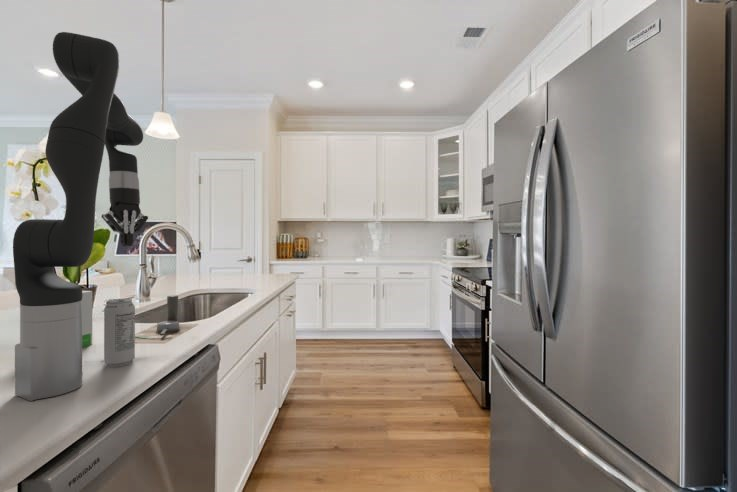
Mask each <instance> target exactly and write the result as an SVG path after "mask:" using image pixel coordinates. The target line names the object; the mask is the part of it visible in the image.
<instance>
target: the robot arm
mask: <svg viewBox="0 0 737 492" xmlns="http://www.w3.org/2000/svg"><path fill="white" fill-rule="evenodd" d="M52 54H53V58H54V62H55V64H56V66H57V68H58V70H59V71H60V72H61V73H62V75H63V77H65V79H66V80H68V81H69V82H70V84H71V85H72V86H73V87H74V88H75V89H76V90H77V91H78V93H80V95H81V96H80V97H79V98H78V99H76V100H75V101H74V102H72V103H71V104H70V105H69V106H68V107H66V108H64V110H62V111H61V112H60V113H58V115H57V116H55V118H54V119H52V122H51V124H50V127H49V130H48V135H47V141H46V145H45V152H44V153H45V157H46V160H47V163H48V165H49V167H50V169H51V171H52V173H53V174H54V175H55V177H56V180H57V181H58V183H59V184H60V186H61V187H62V189H63V192H64V196H65V212H64V213H65V214H64V217H63V219H47V218H45V219H43V218H42V219H41V218H39V219H38V218H37V219H35V218H34V219H33V218H32V219H27V220H24V221H23V222H21V223H19V225H18V226H17V228H15V232H14V235H13V238H12V258H13V267H14V268H13V269H14V284H15V285H14V286H15V290H16V291H17V294H18V296H19V343H17V344H15V345H14V395H15V396H18V397H20V398H23V399H26V400H27V401H29V402H30V401H31V402H32V401H36V400H39V399H46V398H51V397H57V396H60V395H64V394H66V393H70V392H73V391H74V390H77V389H78V388H80V387H81V386H82V385H83V375H84V374H83V347H82V291H83V288H82V286H81V285H79V284H76V283H74V282H70V281H68V280H65V279H63V278H62V277H60V276H59V275H58V274H57V273H56V271H55V269H54V268H75V267H82V266H83V265H84V264H86V263H88V260H89V259H90V257H91V254H92V252H93V245H94V239H95V237H94V236H95V224H96V223H95V217H96V200H97V192H98V185H99V179H100V173H101V167H102V163H103V157H104V150H106V151H107V156H108V163H109V164H108V168H109V176H108V188H109V191H108V192H109V203H110V207H109V209H108V210H109V211H107V212H106V213H104V214H101V219H103V221H104V222H105V223H106V224H107V225H108V226H109V228H110V229H111V230H112V232H116V233H118V234H119V235H120V238H119V239H120V245H122V248H123V247H132V245H134V233H136V232H137V233H138V232H140V230H142V228H143V226H144V225H145V224H146V222H147V221H148V219H149V216H147V215H144V214H143V213H142V210H141V208H140V204H141V200H140V199H141V197H140V196H141V195H140V193H141V192H140V180H139V176H138V175H139V174H138V158H137V156H136V155H135V154H134V153H130V152H127V151H123V150H119V149H118V147H117V146H128V147H129V146H131V147H136V146H139V145H140V144H141V143H143V140H144V133H143V130H142V127H141V125H140V124H139V123H138V122H137V120H136V119H134V118H133V117H132V116H131V115H130V114H129V113H128V111H127V107H126V105H125V104H124V102H123V100H122V99H121V98H120V97H119V96H118V94H116V93H115V90H116V86H117V82H118V79H119V73H120V62H121V61H120V54H119V51H118V49H117V47H116V46H115V44H114V43H112V42H110V41H108V40H105V39H103V38H102V39H101V38H97V37H94V36H89V35H84V34H80V33H79V34H78V33H74V32H67V31H61V32H58V33H56V34H55V36H54V38H53V42H52ZM105 148H106V149H105Z"/></svg>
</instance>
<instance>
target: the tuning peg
mask: <svg viewBox="0 0 737 492" xmlns="http://www.w3.org/2000/svg"><path fill="white" fill-rule="evenodd" d="M166 299H167V300H166V320H164V321H160V322H158V323H156V325H157V331H158V332H161V334H160V335H165V333H166V332H171V331H176V330H178V329H179V324H180V321H179V295H168V296H167V297H166Z"/></svg>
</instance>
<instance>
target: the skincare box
mask: <svg viewBox="0 0 737 492" xmlns="http://www.w3.org/2000/svg"><path fill="white" fill-rule="evenodd" d="M91 345H93V290H82V348H86V347H88V346H91Z"/></svg>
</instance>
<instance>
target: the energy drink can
mask: <svg viewBox="0 0 737 492" xmlns="http://www.w3.org/2000/svg"><path fill="white" fill-rule="evenodd" d="M103 311H104V312H103V315H104V316H103V318H104V319H103V324H104V325H103V326H104V327H103V328H104V329H103V332H104V333H103V334H104V335H103V339H104V340H103V341H104V342H103V362H104V364H106V366H107V367H110V368H117V367H124V366H128V365H130V364H131V363H133V360H134V359H135V357H136V356H135V355H136V354H135V352H136V351H135V350H136V343H135V334H136V306H135V305H134V303H133V299H131V298H115V299H110V300H109V299H108V300H107V303H106V304H105V307H104V308H103Z"/></svg>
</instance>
